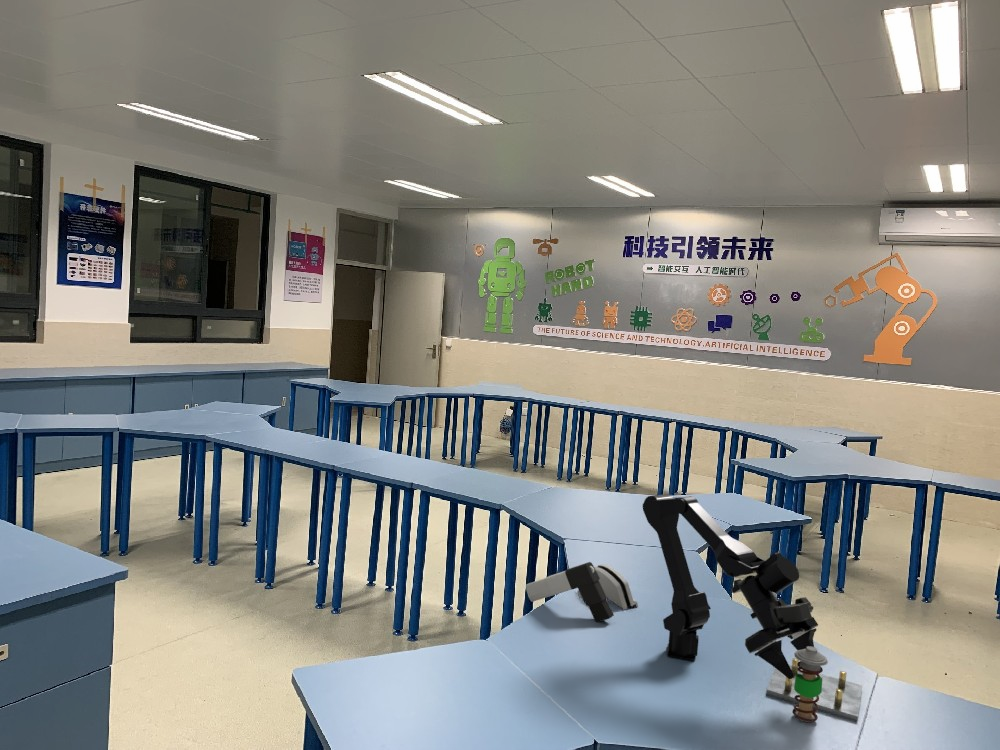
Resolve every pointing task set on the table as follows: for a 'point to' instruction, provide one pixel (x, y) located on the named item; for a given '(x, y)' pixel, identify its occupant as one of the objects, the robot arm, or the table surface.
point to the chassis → (833, 698)
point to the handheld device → (572, 579)
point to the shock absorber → (808, 683)
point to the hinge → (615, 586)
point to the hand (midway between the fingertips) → (804, 673)
